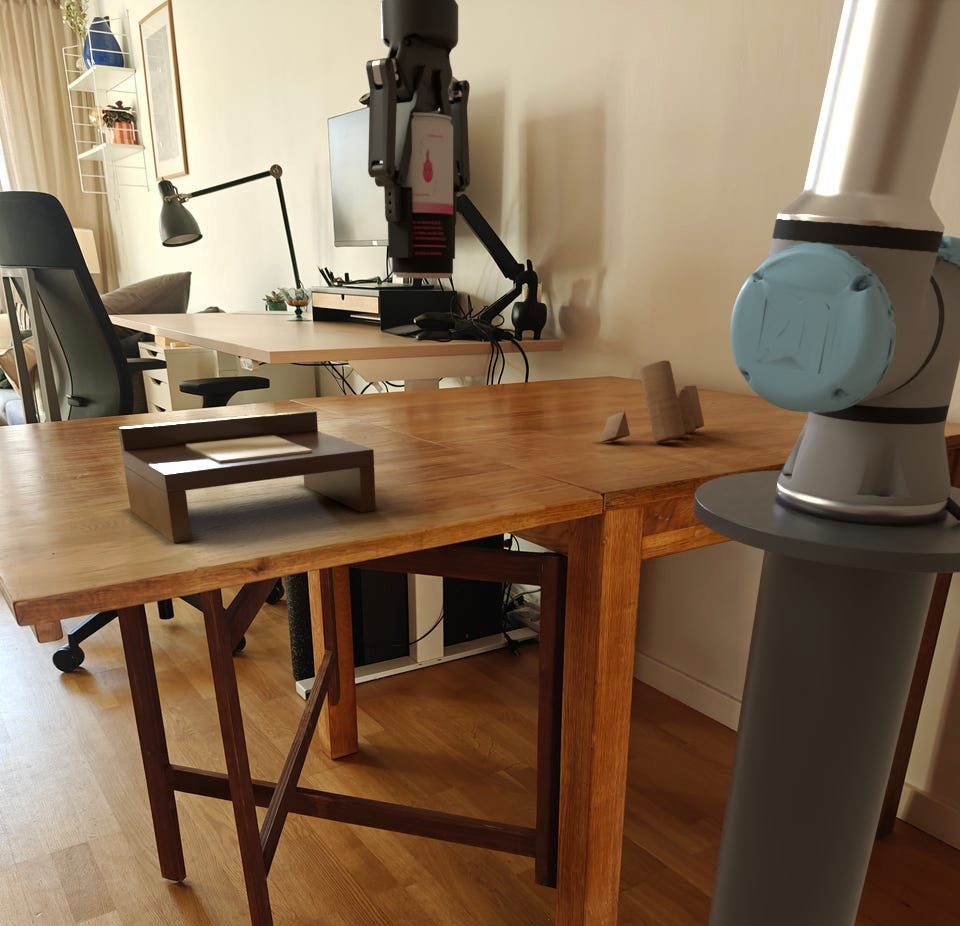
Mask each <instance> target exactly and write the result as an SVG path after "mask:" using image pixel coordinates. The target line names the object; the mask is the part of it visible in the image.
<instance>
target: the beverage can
mask: <svg viewBox="0 0 960 926" xmlns="http://www.w3.org/2000/svg"><path fill="white" fill-rule="evenodd" d="M413 115H414V117H413V119H412V121H411V122H412V153H411V158H410V164H409V169H408V175H407V180H406V184H405V185H403V187H412V213H413V258H391V270H392V274H393V275H394V276H395V277H396V278H399V279H450V276H452V275H454V259H453V125H452V124H451V123H450V122H451V117H449V116H446V115H442V114H434V113H413Z"/></svg>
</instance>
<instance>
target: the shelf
mask: <svg viewBox="0 0 960 926" xmlns="http://www.w3.org/2000/svg"><path fill="white" fill-rule="evenodd" d="M117 429H118V436H119V443H120V448H121V456H122V461H123V463H122V464H123V468H124V475H125V481H126V482H125V483H126V488H127V494H128V501H129V509H130V511H131V512H132V513H133V514H134V515H136V516H138V517H139V518H140V519H142V520H143V521H144V522H145V523H147V524H148V525H149V526H150V527H152V528H153V529H155V530H156V531H157V532H159V533H160V534H161V535H163V536H164V537H165V538H167V539H168V540H169V541H170V542H172V543H173V544H175V543H176V544H177V543H183V542H188V541H192V540H193V539H192V529H191V522H190V514H189V506H188V498H187V491H191V490H200V489H207V488H216V487H223V486H231V485H237V484H247V483H254V482H261V481H268V480H276V479H284V478H285V479H286V478H292V477H299V476H303V487H304V488H307V489H310V490H312V491H313V492H316V493H318V494H320V495H322V496H324V497H327V498H329V499H331V500H334V501H335V502H338V503H340V504H341V505H342V504H343V505H345V506H346V507H349V508H351V509H353V510H355V511H358V512H360V513H366V512H373V511H376V510H377V507H376V506H377V505H376V504H377V503H376V502H377V501H376V480H375V479H376V475H375V450H374V448H371V447H367V446H365V445H362V444H357V443H355V442H353V441H349V440H346V439H343V438H340V437H337V436H335V435H331V434H328V433H326V432H322V431H319V425H318V412H317V410H313V409H312V410H303V411H302V410H301V411H291V412H278V413H267V414H256V415H245V416H244V415H243V416H233V417H232V416H231V417H222V418H211V419H200V420H187V421H176V422H175V421H174V422H165V423H153V424H142V425H132V426H131V425H129V426H118V427H117Z"/></svg>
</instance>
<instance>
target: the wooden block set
mask: <svg viewBox="0 0 960 926" xmlns="http://www.w3.org/2000/svg"><path fill="white" fill-rule="evenodd" d="M671 364H672V363H671V362H670V361H669V360H659V361H655V362H652V363H649V364H647V365H644V366H643V367H641V368H640V370H639V373H640V379H641V384H642V389H643V392H644V397H645V403H646V407H647V412H648V417H649V421H650V427H651V431H652V437H653V441H654V443H656V444H660V443H666V442H670V441H673V440H676V439H679V438H682V437H684V436H686V435H689V434H692V433H695V432H696V431H697V430H699V429H700V428H703V427H705V422H704V417H703V412H702V407H701V401H700V397H699V392H698V387H697V385H695V384H693V385H692V384H691V385H683V386H680V387H677V388H676V384H675V380H674V375H673V369H672V365H671ZM601 434H602V435H601V436H600V439H599V443H607V442H616V441H618V440H620V439H623V438H627V437H629V436H630V435H631V433H630V428H629V424H628V418H627V414H626V411H625V410H623V411H621V412H618V413H616V414H612V415H610V416H608V418H607V419H606V423H605V426H604V429H603V431H602V433H601Z"/></svg>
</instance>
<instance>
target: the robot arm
mask: <svg viewBox="0 0 960 926" xmlns="http://www.w3.org/2000/svg"><path fill="white" fill-rule="evenodd" d="M380 21H381V22H380V23H381V41H382V43H383V44H384V45H385V47H387V48H388V53H387V55H386V57H383V58H377V59H371V60H367V61H366V64H365V69H366V76H367V80H368V86H369V107H368V109H369V113H368V153H367V156H368V157H367V172H368V175H369V177H370V178H372V179H374V184H375V185H376V186H377V187H379V188H383V191H384V192H383V193H384V217H385V220H386V222H387V244H388V245H387V246H388V247H387V248H388V259H392V258H413V213H412V187H403V185H405V184H406V180H407V175H408V169H409V164H410V158H411V153H412V122H411V121H412V119H413V117H414V115H413V113H434V114H442V115H446V116H449V117H451V122H450V123H451V124H452V125H453V260H455V259H456V225H457V220H458V219H457V205H458V201H457V199H458V198H457V195H458V193H465V191H466V189H467V188H468V187H469V186H470V184H471V171H470V169H471V168H470V147H469V146H470V145H469V119H468V118H469V117H468V103H469V97H470V89H471V87H470V83H469V80H467V79H462V80H459V79H457V78H456V77H454V76H453V68H452V65H451V58H450V54H451V52H452V50H453V49H455V48H456V47H457V45H458V43H459V3H457V1H456V0H381V2H380ZM834 43H835V44H834V48H833V53H832V57H831V62H830V67H829V71H828V75H827V81H826V85H825V90H824V94H823V97H822V98H823V99H822V103H821V108H820V112H819V117H818V121H817V126H816V131H815V135H814V140H813V145H812V150H811V154H810V158H809V164H808V167H807V172H806V177H805V181H804V187H803V190H802V191H801V192H800V194H799V195H798V196H797V197H796V198H795V199H794V200H792V201H791V202H790V203H788V204H787V205H786V206H785V207H784V208H782V209H781V210H780V211H779V212H778V213H777V216H776V218H775V223H774V228H773V232H772V236H771V243H770V246H769V252H768V257H767V258H765V260H764V261H763V262H762V263H761V264H760V265H759V267H758V268H756V270H755V271H754V272H752V273H750V275H749V276H748V278H746V280H745V282H744V283H743V285H742V286H741V289H740V291H739V293H738V295H737V297H736V299H735V301H734V304H733V308H732V312H731V319H730V329H729V332H730V333H729V335H730V337H729V338H730V345H731V346H730V347H731V351H732V356H733V359H734V361H735V364H736V367H737V369H738V371H739V373H740V374H741V375H742V377H743V378H744V380H745V381H746V383H747V384H748V386H749V387H750V388H751V389H752V391H753V392H754V393H755V394H757V396H759V397H760V398H762V399H763V400H765V401H766V402H767V403H769V404H770V405H773V406H775V407H776V408H779V409H783V410H785V411H789V412H795V413H797V412H798V413H808V414H807V419H806V422H805V424H804V425H803V428H802V430H801V432H800V434H799V436H798V438H797V440H796V442H795V444H794V446H793V448H792V450H791V451H790V454H789V456H788V458H787V459H786V462H785V464H784V465H781V466H782V467H781V469H780V470H781V473H780V476H779V478H778V482H777V489H776V495H775V498H776V500H777V502H779V503H780V504H781V505H783V506H784V507H786V508H788V509H791V510H793V511H796V512H799V513H802V514H805V515H809V516H813V517H817V518H822V519H827V520H832V521H838V522H844V523H852V524H861V525H872V526H919V525H927V524H932V523H936V522H939V521H942V520H944V519H945V518H946V517H947V515H948V512H949V513H950V514H952V515H953V516H954V517H955V518H956V519H957V520H958V521H959V520H960V506H958V505H957V504H956V503H955V502H954V501H953V500H952V499H951V498H952V494H951V487H952V484H951V476H950V468H949V460H948V450H947V443H946V435H945V429H946V423H947V418H948V414H949V410H950V404H951V402H952V396H953V393H954V389H955V384H956V379H957V375H958V371H959V366H960V237H956V236H952V235H944V233H945V229H946V227H945V225H944V223H943V221H942V220H941V218H940V217H939V215H938V213H937V212H936V209H934V207H933V205H932V201H931V194H932V191H933V187H934V183H935V180H936V175H937V172H938V169H939V165H940V163H941V159H942V155H943V152H944V147H945V144H946V140H947V136H948V133H949V130H950V129H949V128H950V126H951V122H952V118H953V114H954V111H955V108H956V103H957V100H958V97H959V93H960V0H844V2H843V6H842V10H841V16H840V19H839V24H838V29H837V34H836V38H835V42H834Z"/></svg>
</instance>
